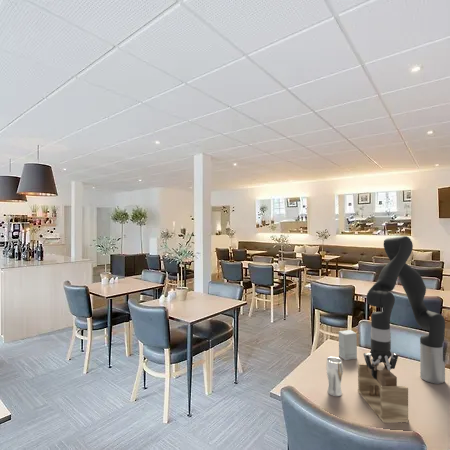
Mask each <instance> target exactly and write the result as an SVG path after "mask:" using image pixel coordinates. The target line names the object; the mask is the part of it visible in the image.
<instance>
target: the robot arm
mask: <svg viewBox="0 0 450 450" xmlns="http://www.w3.org/2000/svg"><path fill="white" fill-rule="evenodd" d="M413 245H414V243H413V241H412V240H411V238H410V237H409V236H407V235H401V236H400V235H399V236H394V237H388V238H384V240H383V249H384V252H385V253H386V256H387V258H388V260H389V262H388V263H386V265H385V266H383V268H382V269H381V271H380V273H379V276H378V278H377V280H376V282H375V283H374V284H373V285H372V286H371V288H370V289H369V290H368V292H367V294H366V298H365V299H366V302H367V304H368V305H369V306H372V307H375V308H382V309H383V311H374V312H372V313H371V318H370V319H371V321H370V322H371V326H370V327H371V328H370V351H369V352H367V353H366V352H364V353H363V358H364V361H365V363H366V365H367V366H368V367H369V368H370V369H372V376H373V378H374V379H377V366H378V365H379V363H381V364H382V363H383V366H385V367H386V368H387V369H388V370H389V371H390V372H391V370H395V368H396V365H397V362H398V358H399V356H398V355H397V354H396V352H391V348H392V347H391V346H392V344H391V343H392V340H391V339H392V336H391V315H392V311H393V309H394V305H395V302H396V299H395V296H394V294H393V293H392V291H393V290H394V289H395V287H396V284H397V281H398V279H399V281H400V283H401V286H402V288H403V291H404V292H405V294H406V297H407V300H408V302H409V304H410V307H411V309H412V313H413V315H414V319H415V321H416V324H417V325H418V326H419V327H420V328H422V329H424V330H427V331H428V335H427V334H424V335H421V336H420V338H419V344H420V345H419V348H420V349H419V353H420V354H419V355H420V356H419V361H420V362H419V364H420V366H419V367H420V368H419V369H420V372H419V373H420V374H419V375H420V376H419V377H420V378H421V379H422V380H424V381H425V382H427V383H431V384H437V385H438V384H439V385H440V384H443V383H445V382H446V362H445V361H444V357H443V356H444V355H443V354H444V352H443V351H444V349H443V348H444V347H443V346H444V341H445V335H446V334H445V333H446V319H445V317H444V316H443V315H442V314H441V313H438V312H435V311H431V310H429V309H428V308H427V306H426V305H425V301H424V300H425V299H424V298H425V295H426V293H427V286H426V284H425V282H424V280H423V277H422V275H420V273H419V272H418V271H417V270H416V269H414V268H413V267H412V266H410V265H409V264H407V261H408V260H409V257H410V256H411V254H412V252H413V247H414V246H413ZM371 357H372V358H371ZM370 359H372V364H371V362H370Z"/></svg>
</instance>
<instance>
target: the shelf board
mask: <svg viewBox="0 0 450 450" xmlns="http://www.w3.org/2000/svg"><path fill="white" fill-rule="evenodd" d="M372 359H373V358H371V359H370V362H371V364H372ZM367 371H368V372H369V373H370V374H371V375H372V369H370V368H369V367H368V366H367ZM397 378H398V377H397V375H395V374H394V373H393V372H391V370H390V371H389V370H388V369H387V368H386V367H385V366H384V364H382V362H381V363H379V365H378V366H377V379H376V380H377V381H378V383H379V384H380V385H381V386H398V383H397V382H398V379H397Z"/></svg>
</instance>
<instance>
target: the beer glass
mask: <svg viewBox="0 0 450 450" xmlns="http://www.w3.org/2000/svg"><path fill="white" fill-rule="evenodd" d="M343 370H344V368H343V360H342V358H341V357H340V358H339V357H337V356H328V357H327V358H326V376H327V381H328V383H327V384H328V387H327V393H328V395H331V396H333V397H340V396H343V395H342V394H343V393H342V380H343V374H344V371H343Z"/></svg>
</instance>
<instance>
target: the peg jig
mask: <svg viewBox="0 0 450 450" xmlns="http://www.w3.org/2000/svg"><path fill="white" fill-rule="evenodd" d="M357 382H358V383H357V384H358V385H357V386H358V387H357V392H358V394H359V395H360V396H361V397H362V399H364V401H365V403H367V405H369V407H370V409H372V411H373V412H374V413H375V415H376V416H377V417H378V418H379V420H380V421H381V422H382V423H384V424H385V423H386V424H390V423H391V424H392V423H393V424H394V423H398V422H401V423H402V422H406V423H410V419H409V387H408V386H406V385H397V386H381V385H380V384H379V383H378V381H377V380H376V379H374V378H373V376H372V375H371V374H370V373H369V372H368V371H367V365H366V362H364V363H359V362H358V363H357ZM401 423H400V424H401Z"/></svg>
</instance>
